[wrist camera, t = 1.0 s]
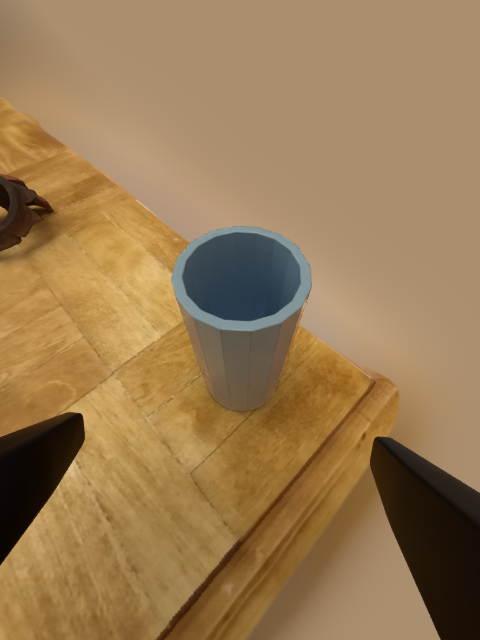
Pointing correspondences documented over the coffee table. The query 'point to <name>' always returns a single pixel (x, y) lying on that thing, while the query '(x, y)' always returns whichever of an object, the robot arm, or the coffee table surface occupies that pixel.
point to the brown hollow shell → (17, 210)
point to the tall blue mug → (242, 309)
